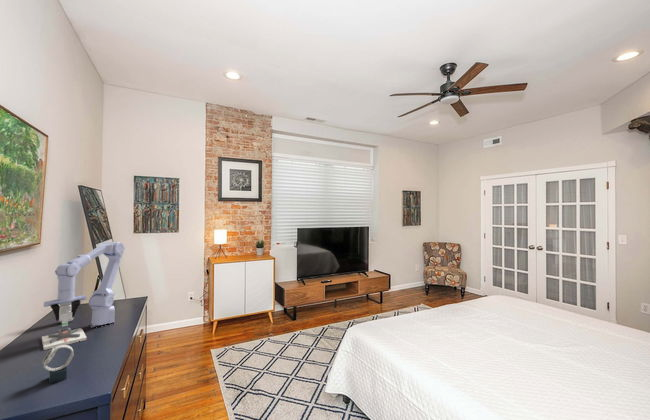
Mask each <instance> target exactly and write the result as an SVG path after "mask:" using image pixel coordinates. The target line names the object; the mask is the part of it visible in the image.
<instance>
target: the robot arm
mask: <svg viewBox="0 0 650 420" xmlns="http://www.w3.org/2000/svg"><path fill="white" fill-rule="evenodd" d="M125 249H126V248H125V245H124V244H123V242H122V241H116V242H115V241H103V242H102V243H101V242H100V243H99V244H98V246H96V247H95V248H93V249H92V250H90V251H89V252H88V253H86V254H78V255H77V256H76V257H75V258H73V259H70V260H68V261H67V262H66V263H60V264H59V265H58V266H57V267H56V270H55V271H54V273H55V275H56V276H57V280H58V286H57V299H54V300H48V301H44V302H43V307H44V308H47V307H50V308H51V310H52V311H53V314H54V317H55V321H56V322H58V321H59V310H60V304H63V303H69V302H71V307H72V310H71V311H72V318H74V319H75V315H76V312H77V310H78V308H79V306H80V305H81V301H86V300H87V295H77V296H75V297H74V293H75V290H76V289H75V287H76V286H75V285H76V276H77V275H78V273H79V272H80V271H81V269H83V268H85V267H87V266H88V265H89V264H91V261H92V260H94V259H95V258H97V257H99V256H102V254H103V255H104V256H105V257H106V258H108V262H107V265H106V268H105V270H104V274H103V276H102V280H101V282H100V285H99V287H98V289H96V290H95V291H93V292H92V295H91V296H90V297H89V299H88V306H89V307H90V309H91V314H92V315H91V323H92V325H93V326H95V325H103V324H107V323H112V322H115V318H116V316H115V315H116V309H115V306H114V305H113V303H114V301H115V292H114V291H113V290H112V289H113V285H114V283H115V279H116V276H117V274H118V271H119V268H120V265H121V262H122V260H123V254H124V251H125Z"/></svg>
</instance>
